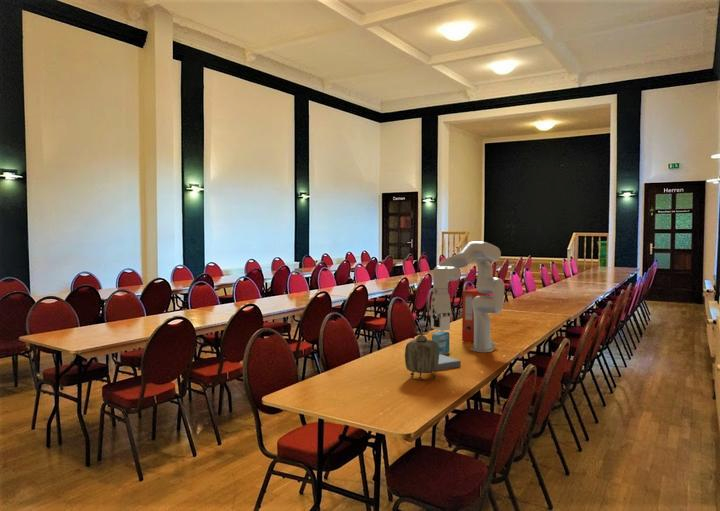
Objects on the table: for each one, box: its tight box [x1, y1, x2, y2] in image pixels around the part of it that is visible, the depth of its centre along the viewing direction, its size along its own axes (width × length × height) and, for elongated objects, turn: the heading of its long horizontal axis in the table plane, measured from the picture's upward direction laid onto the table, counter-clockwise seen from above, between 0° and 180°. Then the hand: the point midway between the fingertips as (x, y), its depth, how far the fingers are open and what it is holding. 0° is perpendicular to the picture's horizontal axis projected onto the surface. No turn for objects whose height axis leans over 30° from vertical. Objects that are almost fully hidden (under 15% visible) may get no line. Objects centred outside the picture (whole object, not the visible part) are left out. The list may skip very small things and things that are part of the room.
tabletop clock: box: [404, 325, 439, 381], centre depth 246 cm, size 14×9×25 cm, turn 66°
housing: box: [430, 314, 451, 332], centre depth 271 cm, size 9×5×8 cm, turn 33°
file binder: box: [461, 287, 487, 344], centre depth 329 cm, size 8×17×32 cm, turn 142°
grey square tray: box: [434, 354, 461, 371], centre depth 271 cm, size 16×16×3 cm
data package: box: [431, 330, 450, 355], centre depth 295 cm, size 12×4×12 cm, turn 140°
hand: (440, 326), depth 271 cm, fingers closed on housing, 5 cm apart
